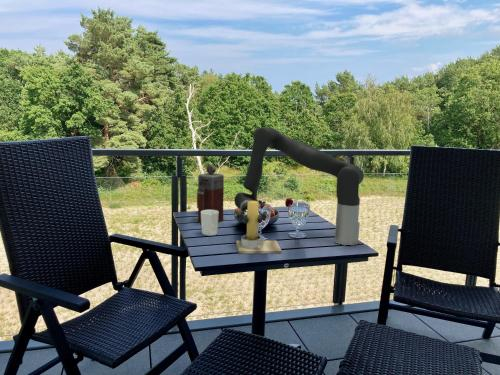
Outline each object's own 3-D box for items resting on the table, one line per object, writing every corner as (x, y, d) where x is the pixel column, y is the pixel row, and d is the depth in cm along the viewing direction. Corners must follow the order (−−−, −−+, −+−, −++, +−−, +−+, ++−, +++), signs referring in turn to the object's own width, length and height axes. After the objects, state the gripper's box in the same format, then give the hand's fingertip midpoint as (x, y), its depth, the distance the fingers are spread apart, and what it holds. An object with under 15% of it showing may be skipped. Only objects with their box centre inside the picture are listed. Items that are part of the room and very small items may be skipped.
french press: (194, 222, 211) (194, 165, 205) (209, 217, 220) (209, 162, 214) (208, 225, 206) (209, 167, 200) (223, 220, 215) (224, 164, 210)
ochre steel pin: (256, 238, 178) (258, 200, 175) (257, 242, 174) (259, 203, 171) (246, 238, 178) (247, 200, 175) (247, 242, 174) (248, 203, 170)
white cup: (202, 236, 190) (202, 214, 188) (199, 231, 197) (199, 209, 195) (219, 235, 192) (220, 213, 190) (216, 230, 199) (216, 209, 197)
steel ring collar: (261, 242, 181) (261, 234, 180) (264, 249, 173) (264, 240, 172) (240, 242, 180) (240, 234, 179) (242, 249, 172) (242, 240, 171)
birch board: (276, 242, 184) (276, 240, 184) (281, 253, 171) (281, 250, 171) (236, 242, 182) (236, 240, 182) (238, 253, 170) (238, 251, 169)
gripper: (232, 201, 187) (235, 211, 170) (265, 201, 188) (271, 211, 172) (232, 218, 188) (235, 229, 172) (265, 218, 190) (270, 229, 173)
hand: (253, 220), depth 172 cm, fingers closed on ochre steel pin, 4 cm apart
